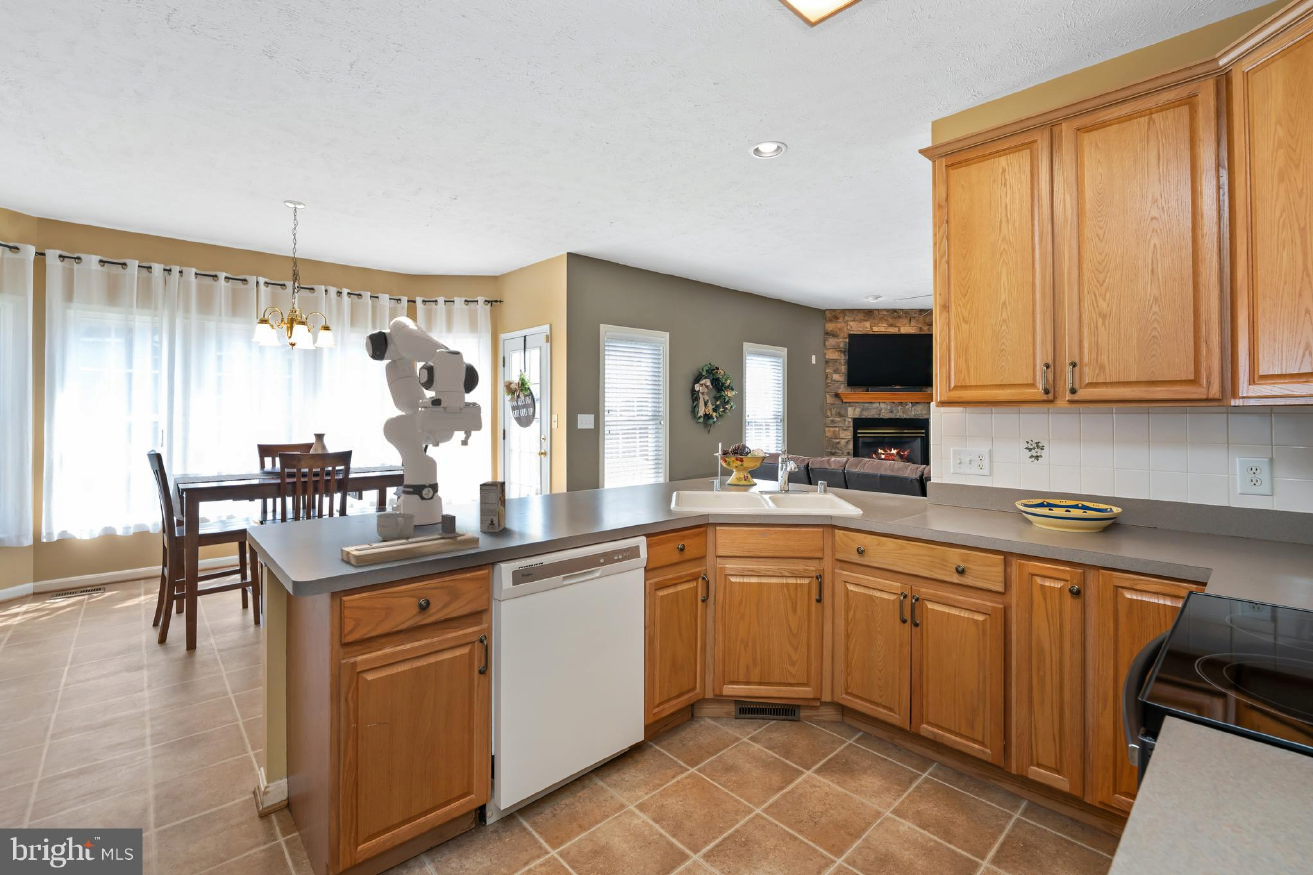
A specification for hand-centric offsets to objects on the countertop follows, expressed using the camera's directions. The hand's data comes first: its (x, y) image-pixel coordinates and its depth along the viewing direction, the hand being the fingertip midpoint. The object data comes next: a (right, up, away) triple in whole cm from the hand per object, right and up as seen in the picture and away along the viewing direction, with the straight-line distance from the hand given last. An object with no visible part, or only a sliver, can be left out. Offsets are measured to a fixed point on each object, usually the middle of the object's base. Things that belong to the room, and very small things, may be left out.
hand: (450, 446), depth 187 cm
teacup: (-16, -29, -1) cm, 34 cm away
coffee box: (+8, -29, +18) cm, 35 cm away
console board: (-5, -30, -17) cm, 35 cm away
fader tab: (+3, -26, -10) cm, 28 cm away
